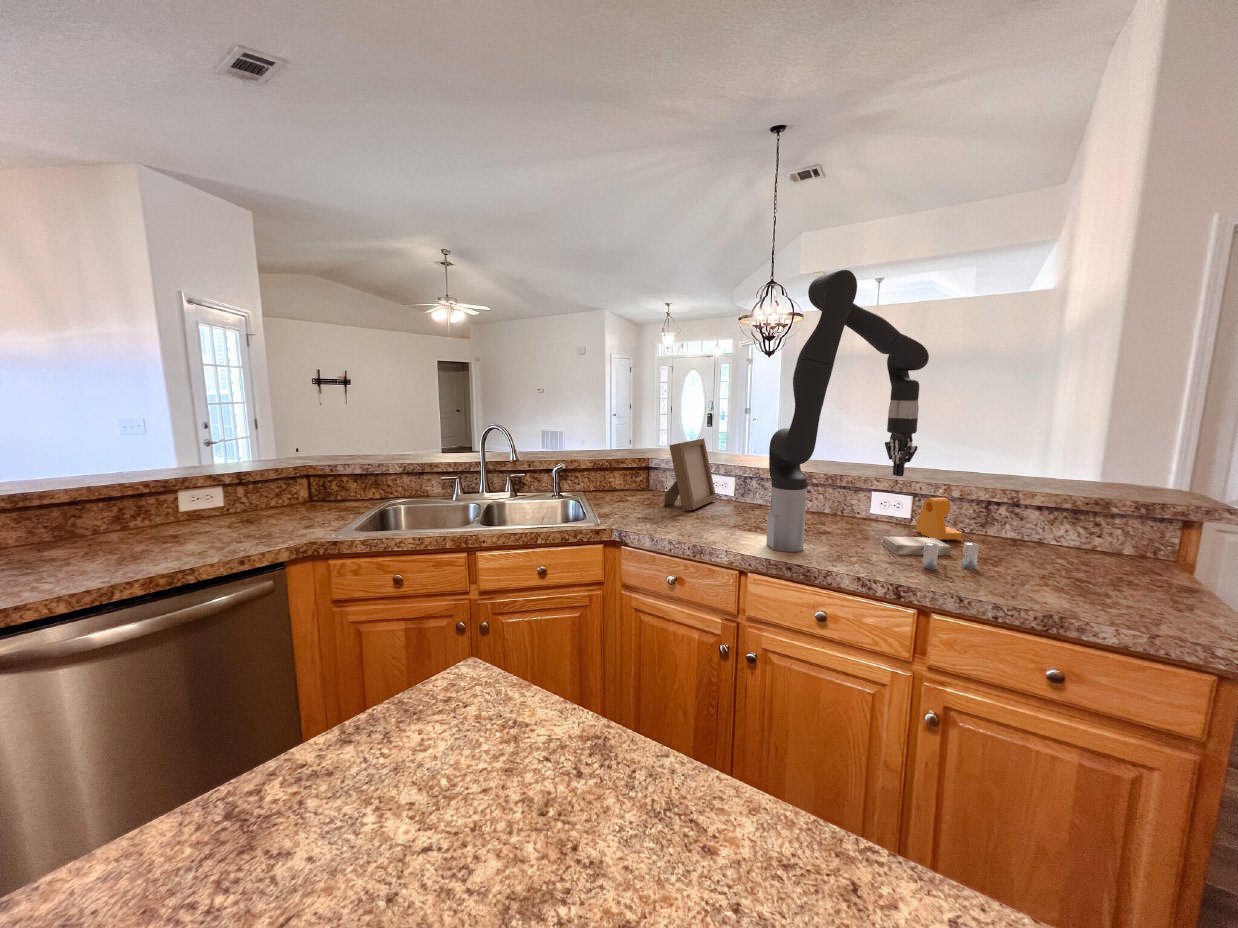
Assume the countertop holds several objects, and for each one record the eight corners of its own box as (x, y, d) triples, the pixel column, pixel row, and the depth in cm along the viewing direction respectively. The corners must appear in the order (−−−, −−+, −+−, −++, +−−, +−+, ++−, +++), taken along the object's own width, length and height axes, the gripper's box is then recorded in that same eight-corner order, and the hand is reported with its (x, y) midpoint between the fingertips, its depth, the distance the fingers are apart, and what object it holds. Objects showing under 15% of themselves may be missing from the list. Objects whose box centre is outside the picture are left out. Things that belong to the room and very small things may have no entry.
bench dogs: (927, 569, 124) (929, 546, 123) (919, 565, 127) (921, 542, 126) (979, 569, 124) (981, 545, 123) (970, 565, 127) (973, 542, 126)
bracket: (962, 541, 147) (966, 501, 146) (938, 542, 147) (941, 501, 145) (938, 531, 158) (941, 494, 156) (915, 532, 158) (918, 494, 156)
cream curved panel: (895, 555, 136) (896, 544, 136) (882, 546, 144) (883, 536, 143) (949, 557, 135) (950, 546, 134) (933, 547, 143) (934, 537, 142)
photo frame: (716, 501, 201) (717, 438, 197) (693, 512, 182) (693, 443, 179) (682, 497, 209) (683, 437, 205) (657, 507, 191) (657, 442, 187)
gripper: (877, 415, 152) (873, 472, 154) (903, 417, 138) (898, 479, 141) (902, 415, 152) (897, 472, 154) (930, 417, 139) (924, 479, 141)
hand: (898, 475), depth 147 cm, fingers closed
